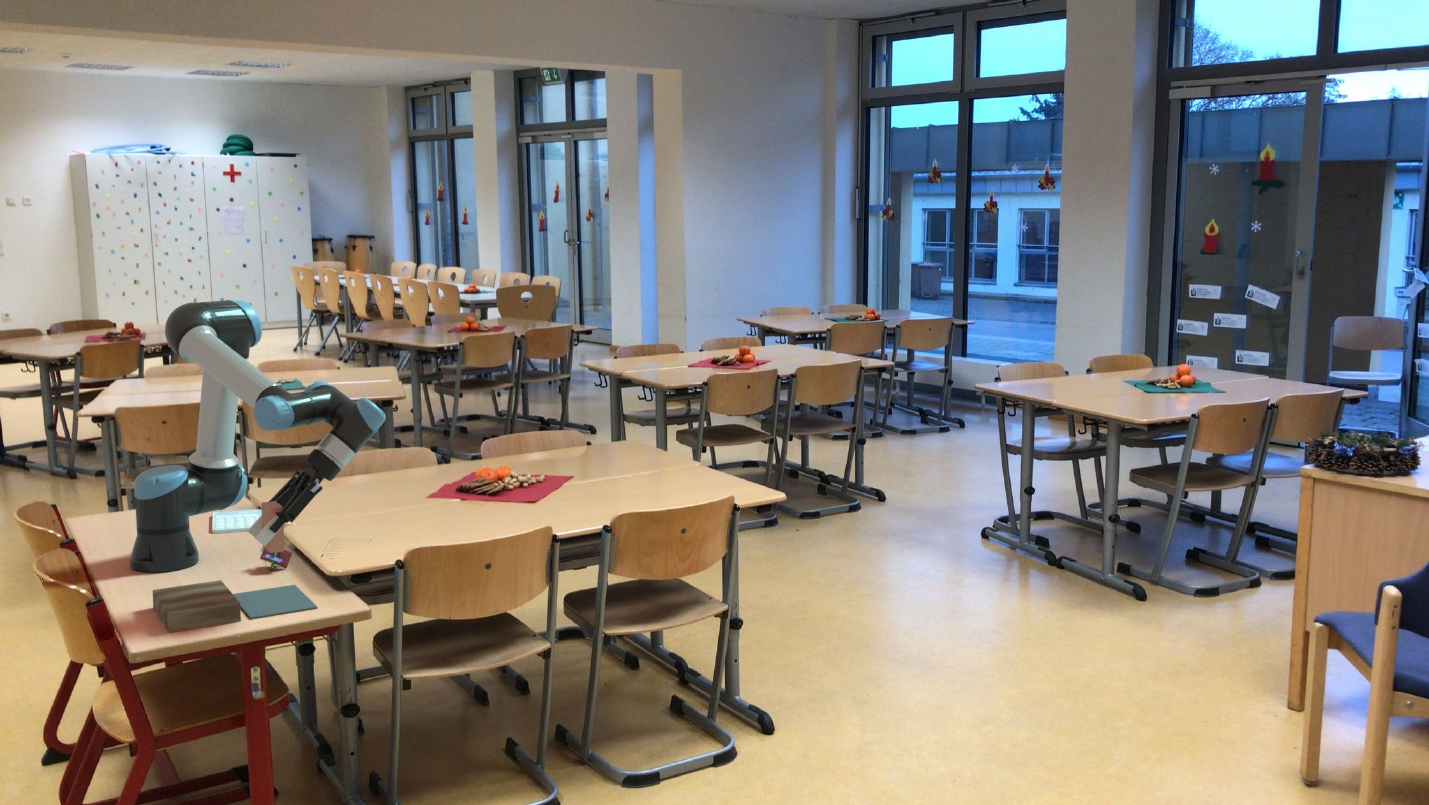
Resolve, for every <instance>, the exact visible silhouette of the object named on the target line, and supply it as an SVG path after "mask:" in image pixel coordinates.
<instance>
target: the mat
mask: <svg viewBox="0 0 1429 805" xmlns="http://www.w3.org/2000/svg"><path fill="white" fill-rule="evenodd" d="M232 594H233V595H234V596H235V597H236V598H237V600H238V601H239V602H240V609H241V610H242V611H243V612H244V614H246V616H247V617H248V618H249V619H250V620H255V619H261V618H266V617H275V616H279V615H280V616H281V615H287V614H292V613H299V612H304V611H310V610H316V609H318V605H316V604H315V602H313V601H312V600H311V599H310V598H309V596H307V595H306V594H305V593H304V592H303V591H302V590H301V589H300V588H299V587H298V586H297V585H296V584H290V585H282V586H277V587H271V588H270V587H269V588H265V589H256V590H251V591H243V592H237V593H232Z"/></svg>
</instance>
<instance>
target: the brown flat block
mask: <svg viewBox="0 0 1429 805" xmlns="http://www.w3.org/2000/svg"><path fill="white" fill-rule="evenodd" d="M233 594H234V593H232V592H231V590H230V589H229V588H228V587H227V585H226V583H224V582H223V581H222V580H221V579H218V580H213V581H205V582H197V583H191V584H184V585H177V586H171V587H164V588H156V589H152V602H153V603H152V604H153V606H152V607H153V610H154V611H155V612H157V613H156V614H157V616H158V617H159V619H160V620H161V622H162V624H163V625H164V627H165V629H166V630H167V632H168V633H175V632H176V633H177V632H181V631H187V630H194V629H200V628H206V627H212V626H218V625H224V624H225V625H226V624H231V623H235V622H237V623H238V622H241V621H242V616H241V613H242V612H241V607H240V602H239V601H238V600H237V598H236V597H235V596H234V595H233Z"/></svg>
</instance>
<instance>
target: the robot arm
mask: <svg viewBox="0 0 1429 805" xmlns="http://www.w3.org/2000/svg"><path fill="white" fill-rule="evenodd" d="M261 321H262V320H261V318H260V316H259V314H258V312H257V311H256V309H255V308H254V306H252V305H251V304H250V303H248V302H246V301H243V300H233V299H232V300H230V299H226V300H215V301H213V300H212V301H202V302H201V301H199V302H196V301H194V302H188V303H184V304H181V305H180V306H178V307H176V308H175V309H173V311H172V312H171V313H170V314H169V316H168V317H167V319H166V321H165V325H164V336H165V339H166V341H167V344H168V346H169V348H171V350H172V352H174V353H175V354H176V355H177V356H178V357H180V358H181V359H182V360H183V361H185V362H187V363H194V364H196V366H199V367H200V368H201V369H202V378H201V392H200V403H199V411H198V412H199V415H198V426H197V436H196V448H195V449H196V450H195V452H193V453H192V454H191V455H189V456H188V462H187V468H186V466H184V465H180V464H170V465H169V464H168V465H161V466H155V467H152V468H149V469H146V470H144V471H142V472H140V473H139V474H138V475H137V476H136V478H135V480H134V490H133V491H134V492H133V497H134V501H135V502H134V503H135V504H134V505H135V519H136V520H135V521H136V523H135V524H136V537H135V541H134V544H133V547H132V550H131V554H130V557H129V558H130V559H129V561H130V562H129V564H130V568H131V569H132V570H134V571H138V572H143V573H144V572H145V573H163V572H172V571H177V570H183V569H186V568H190V567H192V566H195V565H196V564H198V563H199V560H200V558H199V555H200V554H199V550H198V548H197V545H196V543H195V541H194V538H193V536H192V533H191V528H190V517H192V516H193V517H194V516H197V515H202V514H206V513H210V512H215V511H216V512H217V511H222V510H225V509H227V508H230V507H233V506H235V505H237V504H238V503H240V501H242V499H243V498H244V497H245V494H246V491H247V489H248V487H247V486H248V477H247V475H246V474H245V473H246V470H245V468H244V466H242V464H241V463H240V460H239V457H237V456H236V455H235V454H234V448H235V436H236V427H237V426H236V425H237V416H238V405H239V399H240V400H242V401H243V402H244V403H246V404H247V405H248V406H249V407H250V408H252V409H253V414H254V415H253V416H254V419H255V421H257V425H258V426H259V427H260V428H261V429H262V430H265V431H268V432H269V431H283V430H287V429H292V428H297V427H298V428H299V427H303V426H307V425H314V424H320V423H326V424H327V425H328V426H330V427H332V429H331V430H330V431H329V432H328V433H327V434H326V435H325V436H324V437H323V438H322V439H321V441H319V443H318V444H317V447H318V448H314V449H313V450H311V452H310V453H309V454H308V455H307V456H306V457H305V459H304V462H305V463H306V464H307V465H308V467H306V468H305V469H304V470H303V471H301V470H296V471H295V473H293V475H291V476H292V477H291V478H290V479H289V480H288V481H287V482H286V483H285V484H284V485H283V486H282V487H281V488H280V489H279V490H278V491H277V493H275V494H274V495H273V496H272V498H271V499H270V500H269V501H268V502H272V501H276V502H277V503H278V504H280V505H281V506H282V507H283V509H282V511H281V512H276V515H275V516H274V517H273V518H272V520H271V521H270V522H269V523H268V524H267V525H266V526H265V527H264V528H263V529H262V515H261V516H260V517H259V518H258V520H257V521H256V522H255V523H254V524H253V525H252V526H251V527H250V528H249V529H248V530H247V531H246V532H248V533H249V535H251V536H253V537H254V539H255V540H256V541H257V542H259V543H260V544H262V546H263V545H264V546H266V545H267V543H268V542H269V541H270V540H271V539H272V538H273V537H274V536H275V535H276V534H277V532H278V531H279V530H280V529H281V528H282V527H283V528H284V526H285V525H286V524H287V523H289V522H290V523H293V522H294V521H295V520H296V519H297V518H298V516H300V514H301V513H302V512H303V510H304V509H306V507H307V506H308V505H309V504H310V503H311V501H312V500H313V499H314V498H315V497H316V496H317V495H318V494H319V493H320V492H321V491H322V490H324V489H323V488H324V487H323V486H322V485H320V484H321V483H322V481H323V480H324V479H326V480H327V481H329V482H331V481H333V480H334V479H335V478H336V477H337V475H339V473H340V472H342V471H341V470H342V469H341V467H345V466H346V465H348V463H349V462H353V459H354V457H355V455H356V454H357V453H358V452H359V450H360V449H362V447H363V446H364V445H365V444H366V443H367V442H368V441H369V440H370V439H371V438H372V437H373V436H374V435H375V434H376V433H377V432H378V430H379V429H380V427H381V426H382V425H383V424H384V422H385V421H386V418H387V417H386V413H385V412H384V411H383V410H382V409H381V408H380V407H378V406H377V404H376V403H374V402H373V401H371V400H370V399H368V398H367V397H361V398H359V400H357V401H354V400H353V399H351V398H350V397H348V396H347V395H346V394H344V393H343V392H341V390H339V389H338V388H337V387H336V386H333V385H331V384H329V383H328V382H327V381H323V380H316V381H313V383H311V384H308V386H306V388H305V389H304V390H303V391H299V392H292V393H291V392H288V390H286V389H284V388H283V387H282V386H281V385H280V384H278V383H277V382H276V381H274V380H273V379H272V378H271V377H269V376H268V375H266V374H265V373H264V372H262V371H261V370H260V369H258V368H257V367H256V366H255V365H253V364H252V363H251V362H249V361H248V360H249V358H250V350H251V348H254V347H255V346H257V345H258V343H259V342H260V341H261V338H262V336H263V325H262V322H261ZM278 516H279V517H278Z"/></svg>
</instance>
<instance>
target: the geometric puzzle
mask: <svg viewBox="0 0 1429 805" xmlns="http://www.w3.org/2000/svg"><path fill="white" fill-rule="evenodd" d="M284 544H286V543H285V541H284ZM284 548H285V549H284V551H282V552H275V553H269V552H268V551H267V550H266V549H265V548H264V547H263V546H262V548H260V552H259V559H260V560H261V561H262V563H263V564H264V562H265V564H264V565H265V566H266V569H267V571H268V572H270V571H272V569H274V568H275V567H277V566H278V567H280V568H281V567H283V569H286V568H287V569H288V566H289V563H290V560H291V558H292V555H293V552H292V551H289V550H288V549H287V545H284ZM267 563H268V564H269V565H270V566H269V567H268V565H267ZM273 566H274V567H273ZM272 567H273V568H272ZM280 568H279V569H277V570H280Z"/></svg>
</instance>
